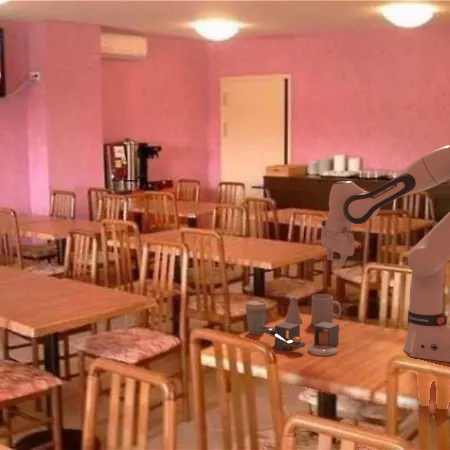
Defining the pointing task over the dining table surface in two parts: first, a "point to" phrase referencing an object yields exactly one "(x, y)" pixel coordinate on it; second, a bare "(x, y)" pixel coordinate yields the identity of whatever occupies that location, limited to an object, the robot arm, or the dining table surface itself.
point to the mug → (323, 309)
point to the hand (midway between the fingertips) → (335, 262)
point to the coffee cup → (256, 316)
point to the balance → (283, 339)
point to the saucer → (322, 350)
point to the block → (323, 337)
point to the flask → (293, 312)
